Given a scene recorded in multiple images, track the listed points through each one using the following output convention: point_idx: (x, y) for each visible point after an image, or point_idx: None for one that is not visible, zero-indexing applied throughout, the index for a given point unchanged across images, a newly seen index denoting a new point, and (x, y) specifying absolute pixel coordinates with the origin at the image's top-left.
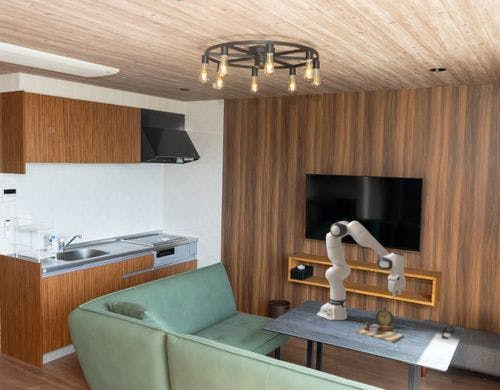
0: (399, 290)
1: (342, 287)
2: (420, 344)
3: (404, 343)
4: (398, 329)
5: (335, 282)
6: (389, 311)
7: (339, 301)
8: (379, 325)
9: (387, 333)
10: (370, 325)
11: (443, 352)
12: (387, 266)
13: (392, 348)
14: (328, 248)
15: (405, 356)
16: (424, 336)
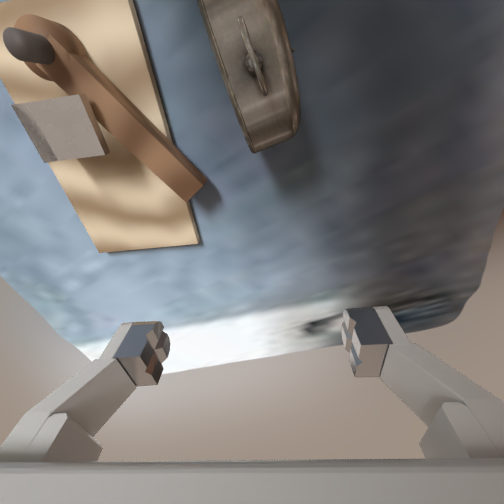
0: (417, 381)
1: None
2: (185, 309)
3: (141, 276)
4: (269, 176)
5: None
6: (276, 116)
7: None
8: (94, 149)
9: (142, 188)
10: (70, 65)
11: (189, 360)
12: None
13: (61, 272)
14: None
15: (61, 320)
16: (271, 288)
